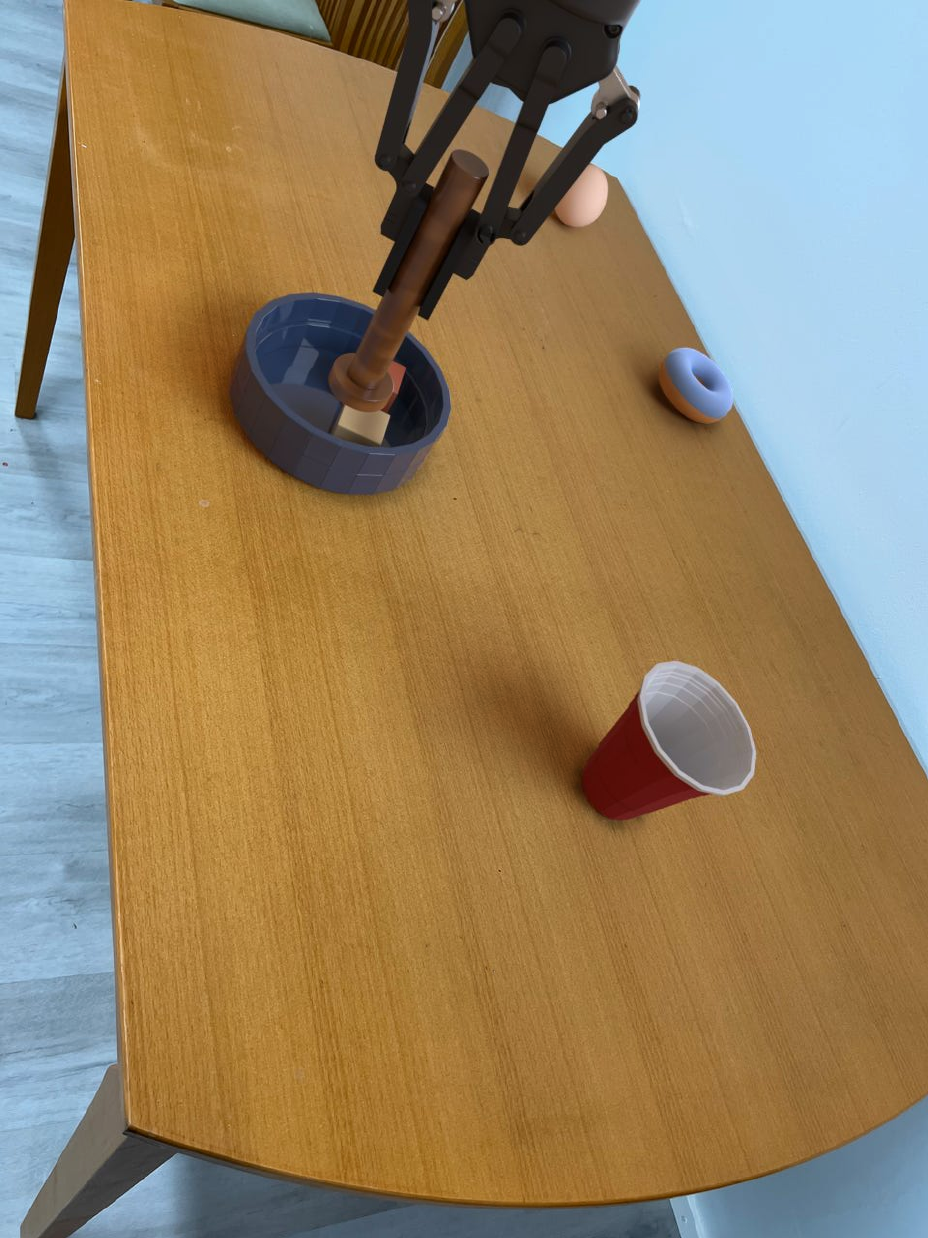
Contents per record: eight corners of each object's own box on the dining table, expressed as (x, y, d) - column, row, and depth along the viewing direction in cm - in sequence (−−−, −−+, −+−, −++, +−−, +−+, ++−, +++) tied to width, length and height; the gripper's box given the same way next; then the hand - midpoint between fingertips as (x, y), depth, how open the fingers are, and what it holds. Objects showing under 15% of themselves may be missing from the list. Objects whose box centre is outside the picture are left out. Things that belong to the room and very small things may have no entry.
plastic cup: (685, 848, 80) (784, 790, 71) (577, 856, 74) (668, 795, 66) (645, 727, 85) (732, 660, 76) (541, 728, 80) (621, 655, 71)
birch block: (322, 454, 84) (337, 423, 81) (333, 425, 87) (348, 394, 84) (364, 474, 85) (381, 444, 82) (374, 444, 88) (390, 414, 85)
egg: (535, 200, 126) (566, 146, 121) (574, 206, 130) (605, 154, 124) (556, 236, 124) (589, 183, 118) (595, 241, 128) (628, 190, 122)
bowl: (198, 438, 80) (215, 387, 76) (263, 312, 92) (281, 261, 87) (402, 531, 85) (430, 488, 80) (439, 399, 96) (465, 355, 92)
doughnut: (727, 405, 120) (751, 379, 117) (706, 444, 113) (730, 417, 110) (663, 355, 120) (686, 328, 116) (638, 391, 113) (661, 363, 110)
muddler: (320, 393, 66) (427, 160, 52) (337, 355, 68) (442, 125, 55) (379, 422, 67) (499, 201, 53) (393, 384, 69) (511, 164, 56)
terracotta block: (341, 404, 89) (356, 373, 86) (351, 378, 91) (366, 347, 88) (381, 423, 90) (397, 393, 87) (390, 397, 92) (406, 367, 89)
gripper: (744, -39, 48) (520, 319, 65) (467, -227, 44) (308, 204, 62) (746, 15, 43) (503, 386, 61) (435, -190, 40) (272, 266, 57)
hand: (405, 293), depth 61 cm, fingers closed on muddler, 2 cm apart
